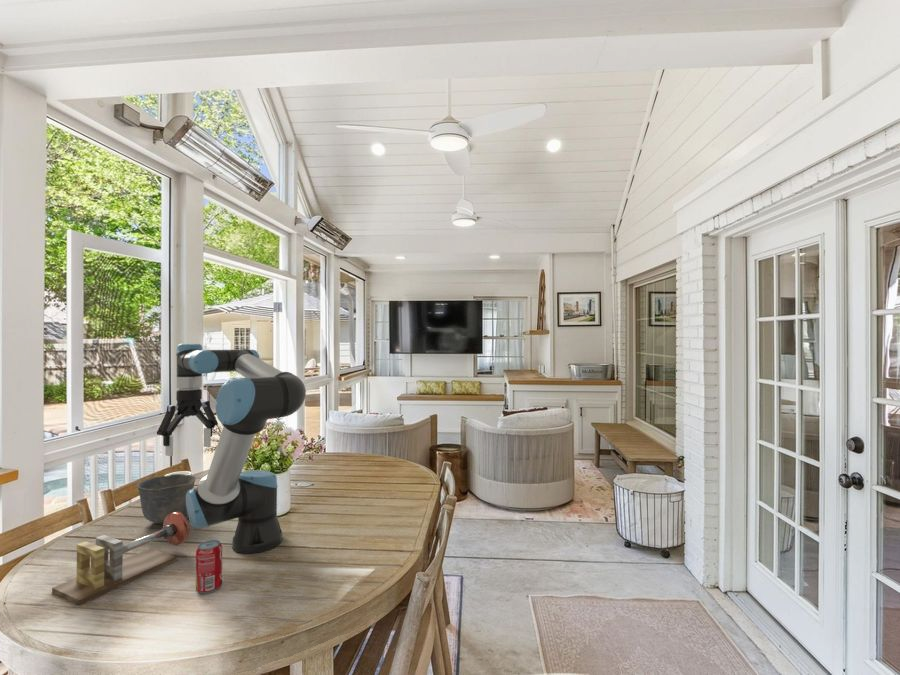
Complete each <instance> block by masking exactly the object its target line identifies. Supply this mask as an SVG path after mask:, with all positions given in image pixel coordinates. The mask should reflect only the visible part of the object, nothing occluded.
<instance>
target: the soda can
mask: <svg viewBox="0 0 900 675" xmlns="http://www.w3.org/2000/svg"><path fill="white" fill-rule="evenodd" d="M222 584H223V544H222V543H221V540H218V539H211V540H205V541H202V542H201V543H199V544H198V545H197V549H196V550H195V591H196V592H198V593H199V594H203V595H204V594H205V595H206V594H211V593H213V592H216V591H217V590H218V589H219V588H220V587H221V586H222Z"/></svg>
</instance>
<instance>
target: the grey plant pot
mask: <svg viewBox="0 0 900 675" xmlns="http://www.w3.org/2000/svg"><path fill="white" fill-rule="evenodd" d="M195 482H196V476H194V475H193V474H192V475H184V474H173V475H170V476H165V475H160V476H154V477H150V478H147V479H145V480H142V481H139V482H138V483H137V485H136V487H137V490H138V494H139V498H140V500H139V501H140V506H141V511H142V512H141V513H142V514H143V517H144V518H145V519H146V520H148V521H149V522H151V523H155V524H162V525H163V523H164V519H165V517H166V516H167V515H168V514H170V513H173V512H177V511H178V512H181V513H182V514H183V515H184V516H185V517H188V513H187V508H186V493H187V491H189V490H191V489H193V488H194V486H195ZM194 489H195V488H194Z"/></svg>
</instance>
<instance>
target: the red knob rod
mask: <svg viewBox="0 0 900 675" xmlns="http://www.w3.org/2000/svg"><path fill="white" fill-rule="evenodd" d="M186 517H187V516H186ZM186 517H185V516H184V515H183V514H182V513H181V512H178V511H177V512H173V513H170V514H168V515H167V516H166V517H165V519H164V523H163V524H162V527H161V529H160V530H159V531H155V532H153V533H151V534H148V535H145V536H142V537H141V538H137V539H135V540H132V541H130V542H127V543H123V554H125V553H128V552H130V551H132V550H135V549H137V548H140V547H142V546H145V545H148V544H150V543H152V542H155V541H158V540H160V539H162V538H163V539H165V540H166V541H167V543H168V544H170V545H171V546H174V547H175V546H179V545H182V544H183V543H185V542H186V541H187V540H188V538H189V535H190V527H189V522H188V520H187V518H186Z"/></svg>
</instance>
